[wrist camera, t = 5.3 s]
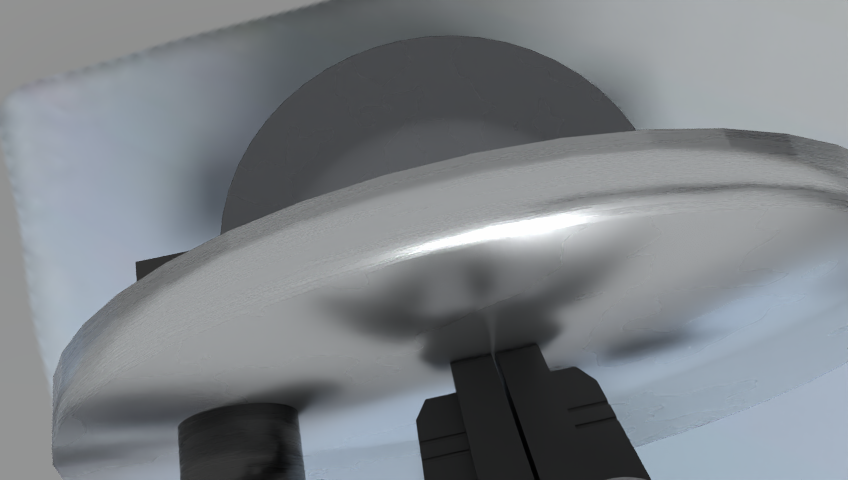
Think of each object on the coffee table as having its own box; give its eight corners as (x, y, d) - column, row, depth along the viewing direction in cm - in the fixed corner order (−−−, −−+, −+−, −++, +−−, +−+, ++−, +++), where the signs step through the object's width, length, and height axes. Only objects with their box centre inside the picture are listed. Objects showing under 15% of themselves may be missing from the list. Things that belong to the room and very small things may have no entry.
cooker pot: (758, 455, 34) (859, 418, 25) (233, 566, 34) (139, 569, 25) (639, 112, 41) (685, -19, 32) (198, 204, 41) (113, 100, 31)
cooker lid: (748, 389, 26) (783, 481, 24) (229, 498, 26) (237, 596, 24) (1153, 5, 10) (1314, 208, 8) (-215, 288, 10) (-262, 540, 8)
